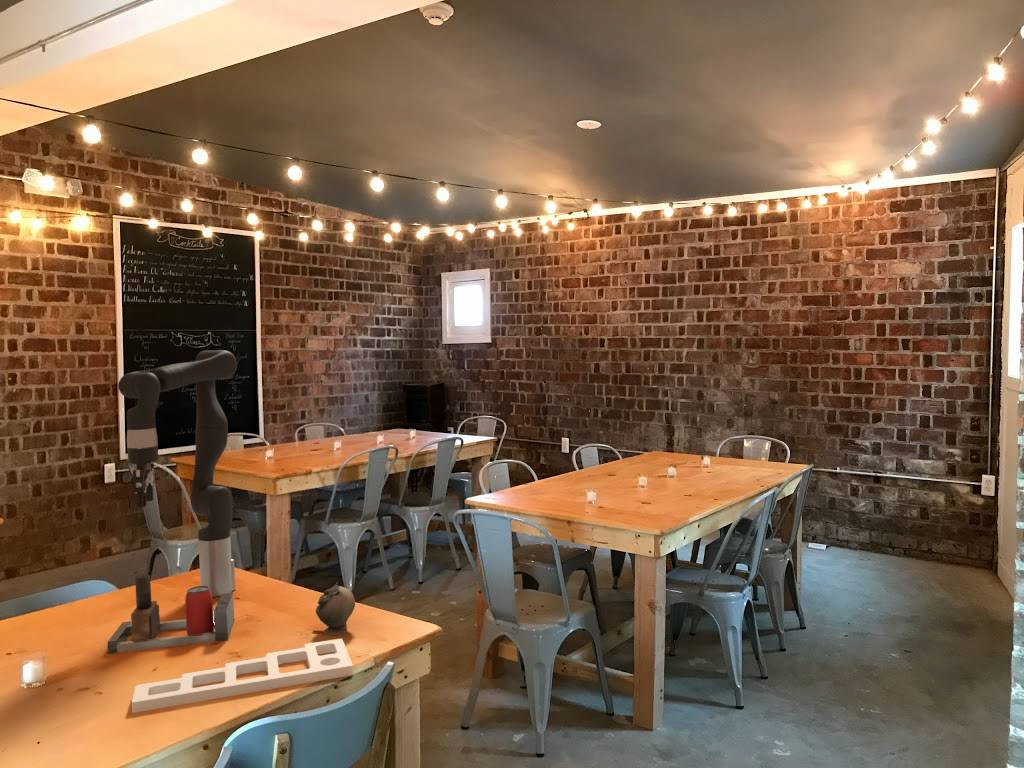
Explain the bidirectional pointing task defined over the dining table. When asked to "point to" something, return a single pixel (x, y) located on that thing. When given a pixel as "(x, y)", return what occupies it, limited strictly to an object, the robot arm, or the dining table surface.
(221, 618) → the frame
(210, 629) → the beer can
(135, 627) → the sliding jaw
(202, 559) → the robot arm
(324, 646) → the holder
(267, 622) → the dining table surface
